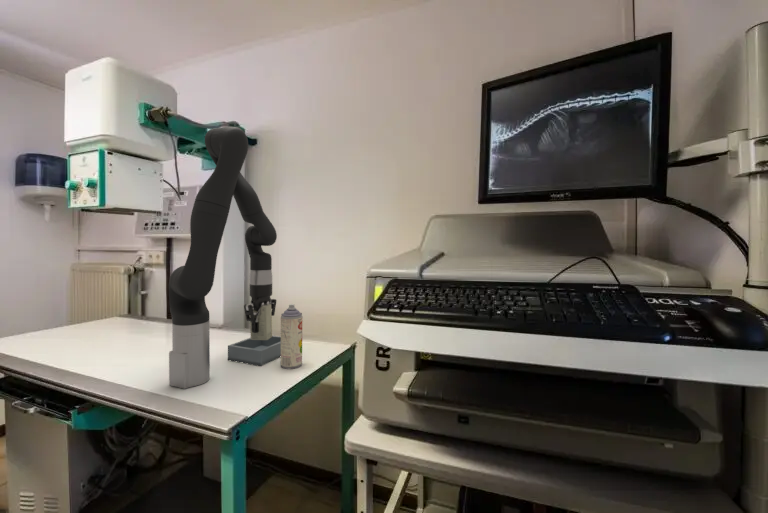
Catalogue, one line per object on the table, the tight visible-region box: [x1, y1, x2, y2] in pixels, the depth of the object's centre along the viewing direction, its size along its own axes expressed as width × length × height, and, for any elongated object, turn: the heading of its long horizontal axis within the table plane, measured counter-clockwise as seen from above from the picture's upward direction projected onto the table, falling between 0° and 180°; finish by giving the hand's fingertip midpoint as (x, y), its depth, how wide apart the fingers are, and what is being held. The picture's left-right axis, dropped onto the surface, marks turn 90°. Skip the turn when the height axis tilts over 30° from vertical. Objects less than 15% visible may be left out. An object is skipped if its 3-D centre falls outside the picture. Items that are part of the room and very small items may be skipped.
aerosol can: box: [280, 303, 303, 370], centre depth 110 cm, size 7×7×20 cm
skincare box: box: [249, 304, 273, 340], centre depth 118 cm, size 6×4×12 cm
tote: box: [227, 335, 281, 367], centre depth 119 cm, size 16×14×5 cm
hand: (261, 330), depth 118 cm, fingers closed on skincare box, 5 cm apart
